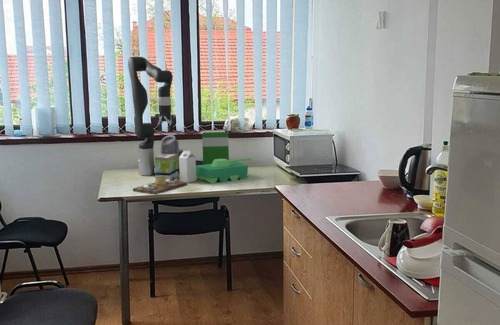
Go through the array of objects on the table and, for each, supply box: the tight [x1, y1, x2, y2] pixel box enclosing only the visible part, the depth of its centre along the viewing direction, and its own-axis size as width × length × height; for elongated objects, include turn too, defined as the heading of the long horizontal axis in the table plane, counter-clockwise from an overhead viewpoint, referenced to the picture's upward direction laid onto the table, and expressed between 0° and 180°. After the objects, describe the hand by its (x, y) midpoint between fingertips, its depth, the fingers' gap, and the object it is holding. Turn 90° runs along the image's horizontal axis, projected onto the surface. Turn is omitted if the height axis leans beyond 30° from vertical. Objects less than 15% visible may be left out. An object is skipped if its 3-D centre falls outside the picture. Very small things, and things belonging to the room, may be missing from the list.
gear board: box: [132, 177, 188, 195], centre depth 306 cm, size 16×28×6 cm, turn 148°
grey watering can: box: [159, 134, 185, 175], centre depth 355 cm, size 30×16×24 cm, turn 160°
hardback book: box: [201, 131, 230, 165], centre depth 367 cm, size 18×7×24 cm, turn 92°
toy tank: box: [196, 157, 252, 184], centre depth 331 cm, size 18×12×35 cm
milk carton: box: [179, 149, 197, 184], centre depth 321 cm, size 7×7×19 cm
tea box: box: [154, 154, 179, 180], centre depth 331 cm, size 15×10×15 cm
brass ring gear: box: [154, 177, 166, 186], centre depth 305 cm, size 6×6×4 cm
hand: (165, 131), depth 321 cm, fingers open, 8 cm apart
